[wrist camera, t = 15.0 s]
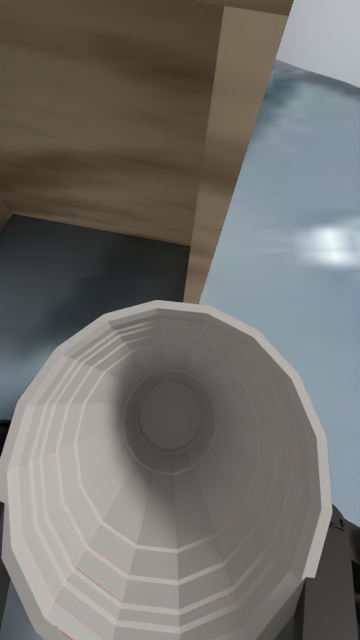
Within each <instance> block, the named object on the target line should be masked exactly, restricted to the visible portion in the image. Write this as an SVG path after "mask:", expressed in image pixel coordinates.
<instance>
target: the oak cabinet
mask: <svg viewBox="0 0 360 640" xmlns="http://www.w3.org/2000/svg"><path fill="white" fill-rule="evenodd" d="M293 1H294V0H0V233H1V232H2V230H3V228H4V227H5V225H6V224H7V222H8V221H9V219H10V218H11V216H12V214H17V215H23V216H28V217H33V218H39V219H44V220H50V221H55V222H61V223H66V224H71V225H77V226H82V227H88V228H93V229H99V230H104V231H109V232H115V233H120V234H126V235H131V236H137V237H142V238H147V239H153V240H158V241H164V242H169V243H175V244H180V245H185V246H191V249H190V256H189V263H188V270H187V278H186V285H185V292H184V299H183V303H191V304H199V301H200V297H201V294H202V291H203V288H204V285H205V281H206V278H207V275H208V272H209V269H210V266H211V262H212V259H213V256H214V253H215V250H216V246H217V243H218V240H219V237H220V234H221V230H222V227H223V224H224V221H225V218H226V214H227V211H228V208H229V205H230V202H231V199H232V195H233V192H234V189H235V186H236V183H237V179H238V176H239V173H240V170H241V167H242V163H243V160H244V157H245V154H246V151H247V147H248V144H249V141H250V138H251V135H252V131H253V128H254V125H255V122H256V119H257V116H258V112H259V109H260V106H261V103H262V100H263V96H264V93H265V90H266V87H267V84H268V80H269V77H270V74H271V71H272V68H273V64H274V61H275V58H276V55H277V52H278V48H279V45H280V42H281V39H282V35H283V33H284V29H285V26H286V23H287V20H288V16H289V13H290V10H291V7H292V4H293Z"/></svg>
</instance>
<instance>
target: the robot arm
mask: <svg viewBox="0 0 360 640" xmlns="http://www.w3.org/2000/svg"><path fill="white" fill-rule="evenodd" d="M10 425H11V420H0V458H1V455H2V451H3V448H4V445H5V441H6V438H7V435H8V431H9V428H10ZM4 506H5V503H4V502H1V501H0V629H1V623H2V618H3V613H4V608H5V603H6V598H7V593H8V587H9V582H10V576H9V574H8V571H7V569H6V567H5V565H4V563H3V561H2V558H1V557H2V540H3V523H4ZM274 640H360V527H358V526H356V525H354V524H352V523H351V522H349V521H347V520H346V519H344V518H343V516H342V514H341V513H340V512H339V510H338V509H337V508H336V507H335V506H334V505H333V504H332V516H331V520H330V523H329V527H328V531H327V534H326V538H325V542H324V545H323V549H322V553H321V556H320V560H319V564H318V568H317V571H316V575H315V578H310V577H306V579H305V582H304V585H303V588H302V591H301V595H300V598H299V601H298V604H297V607H296V610H295V613H294V615H293V616H292V617H291V618H290V620H289V621H288V622H287V624H286V625H285V626H284V627H283V629H282V630H281V631H280V633H279V634H278V635H277V636H276V638H275V639H274Z"/></svg>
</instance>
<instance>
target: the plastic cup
mask: <svg viewBox="0 0 360 640" xmlns="http://www.w3.org/2000/svg"><path fill="white" fill-rule="evenodd" d="M0 501H1V502H4V503H5V506H4V523H3V540H2V557H1V558H2V561H3V563H4V565H5V567H6V569H7V571H8V574H9V576H10V578H11V580H12V582H13V585H14V587H15V589H16V591H17V593H18V595H19V598H20V600H21V602H22V604H23V606H24V609H25V611H26V613H27V615H28V617H29V619H30V622H31V624H32V626H33V628H34V630H35V632H36V633H37V634H39V635H40V636H41V637H42V638H44V639H45V640H274V639H275V638H276V636H277V635H278V634H279V633H280V631H281V630H282V629H283V627H284V626H285V625H286V624H287V622H288V621H289V620H290V618H291V617H292V616H293V615H294V613H295V610H296V607H297V604H298V601H299V598H300V595H301V591H302V588H303V585H304V582H305V579H306V577H310V578H315V575H316V571H317V568H318V564H319V560H320V556H321V553H322V549H323V545H324V542H325V538H326V534H327V531H328V527H329V523H330V520H331V516H332V500H331V488H330V476H329V464H328V452H327V439H326V435H325V432H324V430H323V428H322V425H321V423H320V421H319V419H318V416H317V414H316V412H315V409H314V407H313V405H312V403H311V400H310V398H309V396H308V393H307V391H306V389H305V387H304V384H303V382H302V380H301V377H300V375H299V374H298V373H297V372H296V370H295V369H294V368H293V367H292V366H291V365H290V364H289V363H288V362H287V361H286V360H285V359H284V358H283V356H282V355H281V354H280V353H279V352H278V351H277V350H276V349H275V348H274V347H273V346H272V345H271V344H270V342H269V341H268V340H267V339H266V338H265V337H264V336H263V335H262V334H261V333H260V332H259V331H258V330H257V329H255V328H253V327H251V326H249V325H247V324H245V323H243V322H241V321H239V320H237V319H235V318H233V317H231V316H229V315H227V314H225V313H223V312H221V311H219V310H217V309H215V308H213V307H211V306H209V305H201V304H191V303H181V302H172V301H162V300H154V301H151V302H147V303H143V304H139V305H136V306H132V307H128V308H125V309H121V310H117V311H113V312H110V313H106V314H103V315H102V316H100V317H99V318H98V319H96V320H95V321H93V322H92V323H91V324H89V325H88V326H86V327H85V328H84V329H82V330H81V331H79V332H78V333H76V334H75V335H74V336H72V337H71V338H69V339H68V340H67V341H65V342H64V343H62V344H61V345H59V346H58V347H57V348H56V349H55V350H54V351H53V353H52V354H51V356H50V357H49V358H48V360H47V361H46V363H45V364H44V365H43V367H42V368H41V370H40V371H39V372H38V374H37V375H36V377H35V378H34V379H33V381H32V382H31V384H30V385H29V386H28V388H27V389H26V391H25V392H24V393H23V395H22V396H21V398H20V399H19V400H18V402H17V405H16V408H15V411H14V415H13V418H12V421H11V425H10V428H9V431H8V435H7V438H6V441H5V445H4V448H3V451H2V455H1V458H0Z"/></svg>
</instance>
